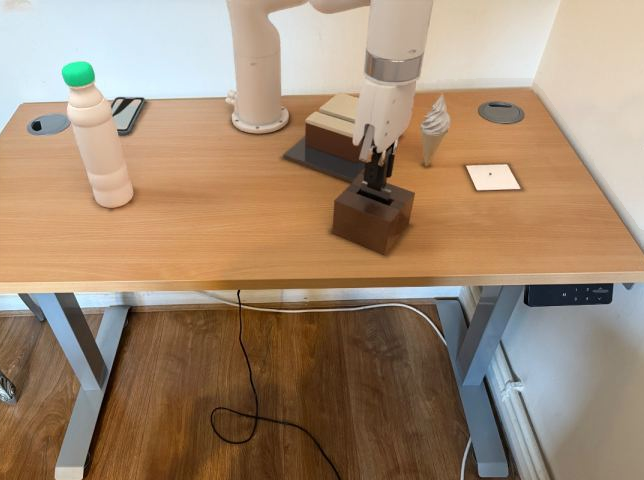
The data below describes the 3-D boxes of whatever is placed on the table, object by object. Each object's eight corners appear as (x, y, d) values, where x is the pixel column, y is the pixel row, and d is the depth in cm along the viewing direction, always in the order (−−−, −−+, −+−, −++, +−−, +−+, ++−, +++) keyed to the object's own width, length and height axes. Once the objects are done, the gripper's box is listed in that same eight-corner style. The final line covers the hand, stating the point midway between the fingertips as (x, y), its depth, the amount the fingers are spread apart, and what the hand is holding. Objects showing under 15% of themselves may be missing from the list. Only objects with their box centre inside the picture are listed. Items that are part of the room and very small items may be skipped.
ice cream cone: (439, 174, 102) (457, 100, 91) (412, 171, 103) (426, 98, 92) (439, 159, 105) (456, 86, 95) (413, 157, 106) (427, 85, 95)
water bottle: (101, 214, 97) (57, 80, 78) (91, 193, 101) (48, 62, 83) (139, 202, 99) (104, 69, 81) (128, 182, 103) (92, 52, 85)
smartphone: (95, 131, 115) (115, 96, 125) (96, 135, 116) (116, 100, 126) (128, 132, 115) (146, 97, 125) (129, 136, 115) (147, 101, 125)
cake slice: (304, 145, 109) (305, 118, 104) (314, 137, 111) (315, 111, 106) (356, 163, 104) (359, 136, 99) (365, 155, 106) (368, 127, 101)
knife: (354, 227, 92) (363, 145, 80) (360, 221, 93) (369, 140, 82) (380, 238, 90) (393, 155, 78) (386, 231, 91) (399, 149, 79)
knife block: (331, 233, 91) (334, 200, 86) (357, 206, 96) (361, 173, 91) (384, 255, 87) (390, 222, 82) (408, 225, 92) (415, 192, 87)
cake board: (283, 158, 107) (283, 154, 107) (334, 116, 118) (334, 112, 118) (353, 183, 101) (353, 179, 100) (400, 136, 112) (400, 132, 111)
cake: (317, 134, 111) (318, 108, 107) (337, 118, 116) (339, 92, 111) (369, 151, 106) (372, 124, 102) (387, 134, 111) (391, 107, 106)
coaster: (520, 188, 98) (522, 185, 97) (477, 190, 98) (478, 186, 98) (507, 164, 103) (508, 160, 103) (465, 165, 104) (466, 162, 103)
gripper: (394, 36, 77) (379, 148, 90) (338, 79, 68) (330, 196, 81) (444, 47, 74) (420, 162, 87) (391, 94, 65) (374, 213, 78)
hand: (377, 178), depth 84 cm, fingers closed on knife, 2 cm apart
